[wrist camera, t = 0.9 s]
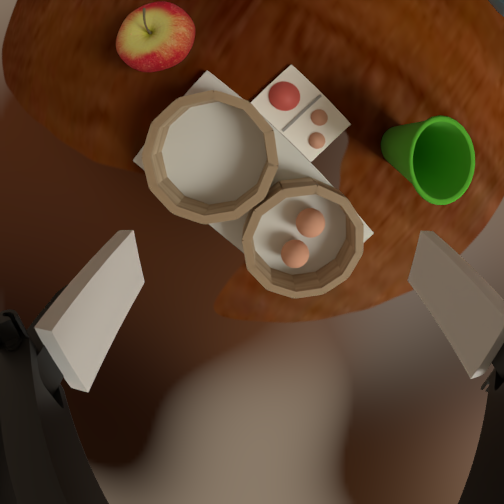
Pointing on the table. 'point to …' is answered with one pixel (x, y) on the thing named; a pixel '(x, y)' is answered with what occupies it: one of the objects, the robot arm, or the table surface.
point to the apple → (155, 37)
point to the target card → (300, 112)
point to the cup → (432, 157)
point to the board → (247, 178)
